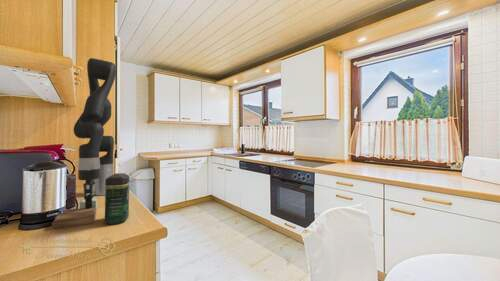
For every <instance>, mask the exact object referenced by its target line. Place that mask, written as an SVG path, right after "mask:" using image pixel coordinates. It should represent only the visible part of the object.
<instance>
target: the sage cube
mask: <svg viewBox="0 0 500 281" xmlns="http://www.w3.org/2000/svg"><path fill="white" fill-rule="evenodd" d="M92 207H95V208H97V209H98V197H97V196H94V197H93V198H92ZM81 208H85V200H84V198H81V200H80V202H79V209H81Z"/></svg>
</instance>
